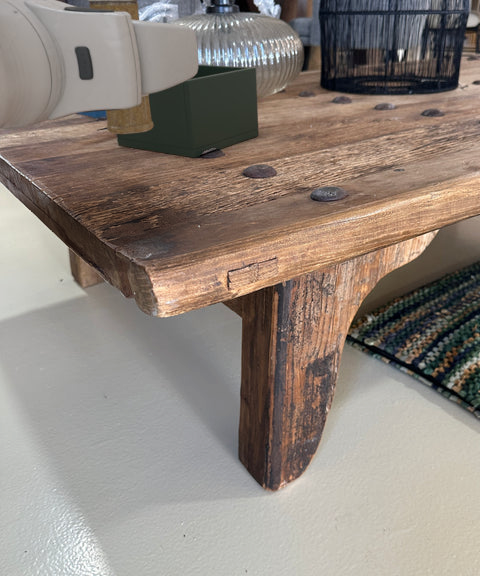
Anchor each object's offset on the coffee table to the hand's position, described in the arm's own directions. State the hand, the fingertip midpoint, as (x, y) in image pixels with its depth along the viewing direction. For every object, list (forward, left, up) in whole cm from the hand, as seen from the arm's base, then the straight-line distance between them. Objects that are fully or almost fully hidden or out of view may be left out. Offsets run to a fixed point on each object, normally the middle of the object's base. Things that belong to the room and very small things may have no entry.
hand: (125, 44), depth 54 cm
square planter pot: (-10, +18, -14) cm, 25 cm away
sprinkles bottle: (0, -1, -8) cm, 8 cm away
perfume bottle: (-29, +20, -14) cm, 38 cm away
